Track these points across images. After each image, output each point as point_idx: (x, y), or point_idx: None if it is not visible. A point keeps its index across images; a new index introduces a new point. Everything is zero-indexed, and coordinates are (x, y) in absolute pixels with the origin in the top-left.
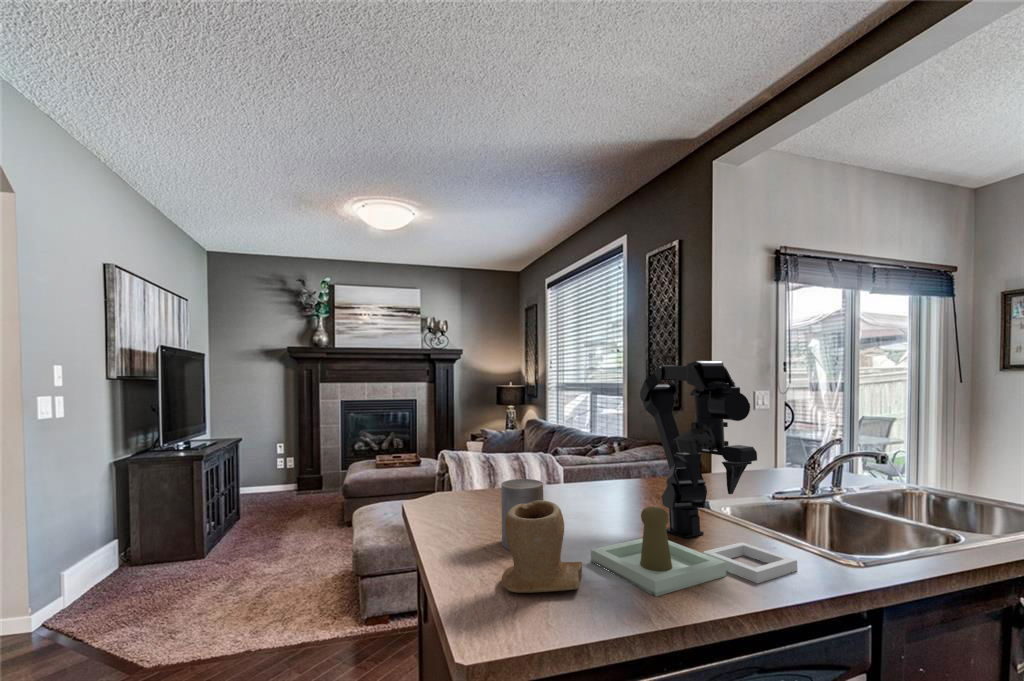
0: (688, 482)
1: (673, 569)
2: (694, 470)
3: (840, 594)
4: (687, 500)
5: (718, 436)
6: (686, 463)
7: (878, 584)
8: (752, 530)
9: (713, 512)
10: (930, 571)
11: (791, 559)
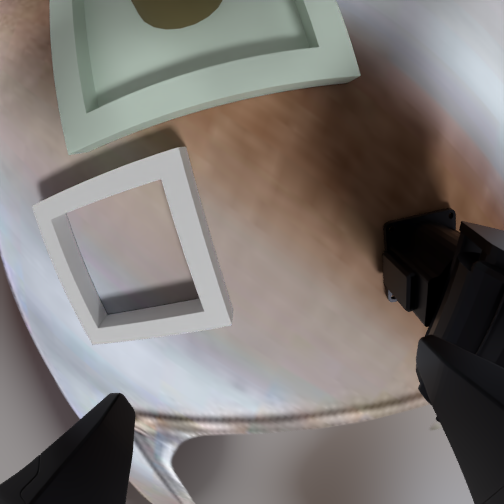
0: (489, 348)
1: (138, 24)
2: (478, 432)
3: (20, 308)
4: (446, 291)
5: None
6: None
7: (61, 384)
8: (351, 407)
9: None
10: None
11: (95, 338)
